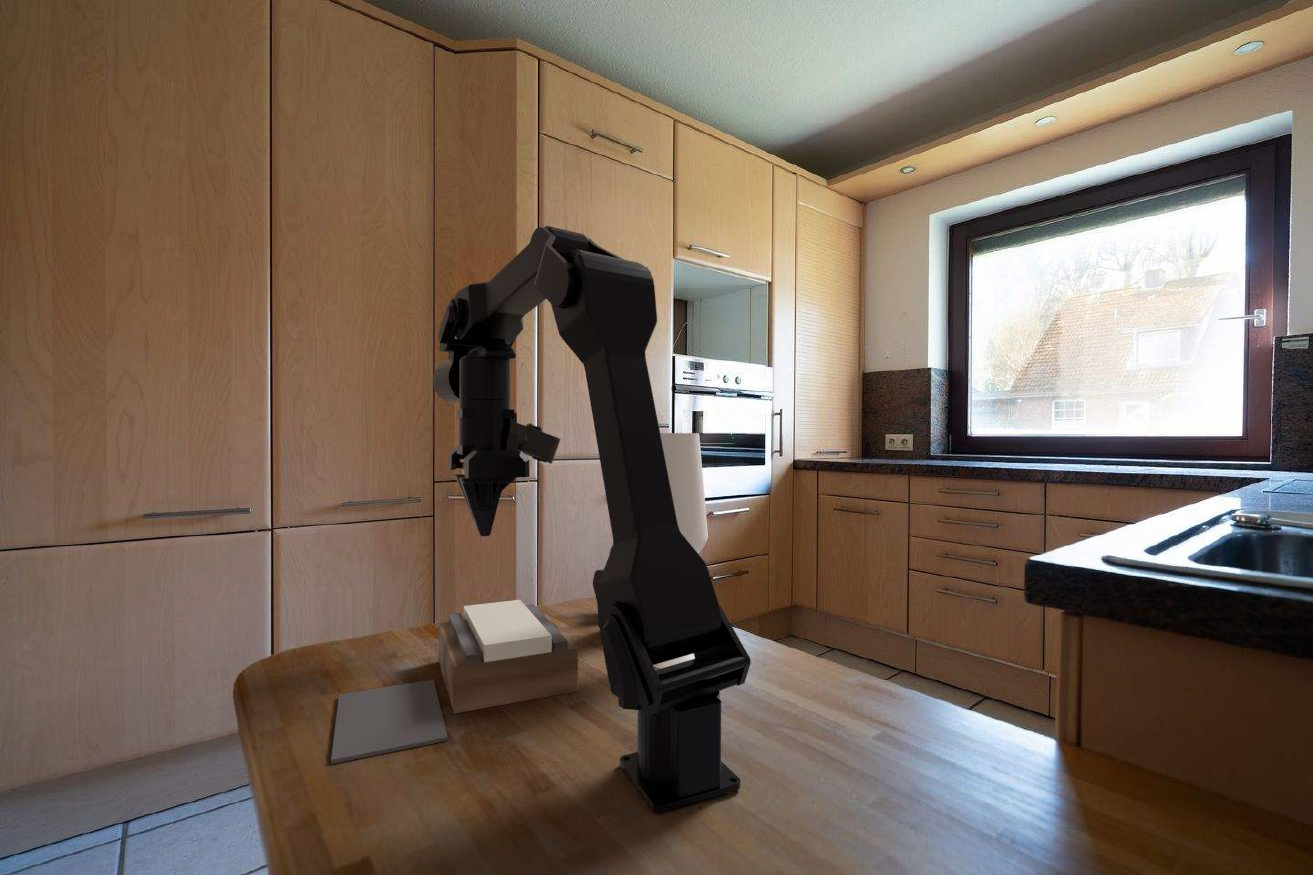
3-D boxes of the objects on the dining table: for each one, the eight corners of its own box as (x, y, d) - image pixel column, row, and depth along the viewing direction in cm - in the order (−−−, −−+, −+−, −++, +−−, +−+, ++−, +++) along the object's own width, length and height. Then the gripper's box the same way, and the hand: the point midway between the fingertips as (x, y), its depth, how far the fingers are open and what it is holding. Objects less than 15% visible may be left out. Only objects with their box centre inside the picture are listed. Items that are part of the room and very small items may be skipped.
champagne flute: (649, 672, 61) (650, 433, 61) (640, 648, 67) (641, 432, 67) (714, 668, 62) (715, 433, 62) (699, 645, 68) (700, 433, 68)
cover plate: (551, 651, 55) (551, 635, 55) (484, 662, 53) (484, 645, 53) (520, 613, 67) (520, 599, 67) (463, 620, 64) (463, 606, 64)
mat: (447, 740, 47) (447, 736, 47) (331, 763, 44) (331, 759, 44) (433, 682, 58) (433, 679, 58) (339, 697, 55) (339, 694, 55)
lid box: (577, 690, 56) (578, 639, 56) (453, 713, 52) (454, 657, 52) (542, 645, 68) (542, 603, 68) (438, 661, 63) (438, 615, 63)
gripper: (576, 399, 65) (576, 544, 65) (534, 405, 82) (534, 520, 82) (469, 395, 60) (469, 552, 60) (447, 403, 77) (447, 526, 77)
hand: (484, 535), depth 70 cm, fingers closed
